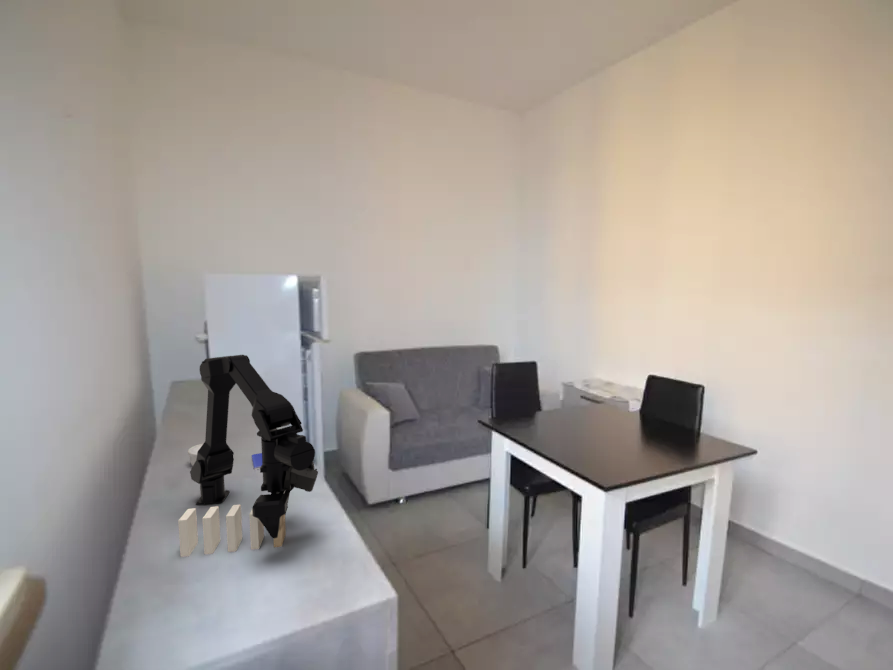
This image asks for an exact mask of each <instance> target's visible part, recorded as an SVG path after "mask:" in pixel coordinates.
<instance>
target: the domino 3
mask: <svg viewBox="0 0 893 670" xmlns="http://www.w3.org/2000/svg"><path fill="white" fill-rule="evenodd" d="M242 517H243V516H242V504H233V505H232V506H231V507H230V509H229V511H228V512H227V514H226V516H225V521H226V539H227V540H226V541H227V553H235V552H237V550H238V549H239V546H240V545H241V542H242V541H243V523H242V520H243V518H242Z"/></svg>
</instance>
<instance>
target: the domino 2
mask: <svg viewBox="0 0 893 670" xmlns="http://www.w3.org/2000/svg"><path fill="white" fill-rule="evenodd" d="M220 523H221V522H220V508H219V505H216V506H210V507H209V509H208V510H207V511H206V513H205V515H204V516H203V517H202V532H203V533H202V534H203V549H204V551H203V552H204V555H206V556H207V555H213V554H214V553H215V551H216V550H217V547H218V546H219V544H220V542H221V541H222V540H221V526H220V525H221V524H220Z"/></svg>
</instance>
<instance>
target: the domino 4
mask: <svg viewBox="0 0 893 670" xmlns="http://www.w3.org/2000/svg"><path fill="white" fill-rule="evenodd" d="M248 516H249V517H248V518H249V533H250V534H249V535H250V550H251V551H253V550H254V551H255V550H259V549H260V547H261V545H262V543H263V540H264V538H265V527H264V525H263V524H262V523H261V521H260V520H259V519H258V518H256V517H254V516H253V512H252V509H251V510H250V513H249V515H248Z"/></svg>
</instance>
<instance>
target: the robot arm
mask: <svg viewBox="0 0 893 670" xmlns="http://www.w3.org/2000/svg"><path fill="white" fill-rule="evenodd" d="M199 374H200V376H201V377H200V380H201V382H202V384H203V385H204V386H205V387H206V389H207V403H206V405H207V406H206V421H205V422H206V423H205V438H204V440H205V441H204V444H203V443H202V444H203V445H202V446H201V448H200V449H199V450H198V452H197V459H196V462H195V463H194V465H193V466H192V467H191V469H190V470H189V474H190V479H191V481H193V482H195V483H197V484H198V485H199V488H200V490H199V492H200V497H199V498H198V500H197V501H196V502H195V505H197V506H200V505H210V504H211V505H213V504H221V503H224V501H225V499H226V498H227V497H228V495H229V494H230V490H225V489H226V487H225V476H226V475H231V474H233V466H234V455H235V454H234V450H232V449H231V447H230V446H229V445H228V443H227V437H228V436H227V433H228V421H229V405H230V395H231V394H230V393H231V391H232V389H233V388H234V387H235V385H237V386H238V388H239V389H240V390H241V392H242V394H243V395H244V396H245V398H246V399H247V400H248V402H249V403H250V405H251V407H252V410H251V418H252V419H253V422H254V424H255V427H256V429H258V432H257V433H256V435H257V436H258V437H260V439H261V442H260V443H261V453H262V466H261V467H260V470H259V471H260V472H259V473H262V483H261V486H260V491H261V492H267V493H269V494H267V493H266V494H260V495H259V496H258V498H256V500H255V501H254V503H253V505H252V507H251V510H252V512H253V516H254V517H256V518H258V519H259V520H260V521H261V523H262V524H263V525H264V529H265V530H266V532H268V534H269V536H270V537H271V539H273V538H277V537H278V532H279V525H280V518H281V516H282V515H284V514H285V516H286V514H287V510H288V508H289V506H288V504H289V499H290V494H291V491H292V490H293V489H294V488H296V489H299V490H304V491H305V492H307V493H308V492H309V493H310V492H313V489H314V487H315V484H316V481H317V478H318V474H319V471H318V468H315V462H314V459H315V456H316V450H315V448H314V445H313V444H312V443H311V442H308V441H307V436H306V435H303V434H299V433H304V432H303V431H304V429H303V426H302V423H303V422H302V421H301V419H300V417H299V416H298V414H297V412H296V410H295V407H294V405H292V403H291V401H289V400H288V399H287V398H286V397H285V396H284V395H282V394H280V393H277V392H275V391H273V390H272V389H271V388H270V387H269V385H268V384H267V383H266V381H264V379H263V378H262V376H260V374H259V373H258V371H257V370H256V369H255V367H254V366H253V365H252V364H251V360H250V358H249V356H248V355H245V354H235V355H226V356H214V357H209V358H208V357H207V358H205V359H204V360H202V361H201V363H200V365H199ZM286 426H287V427H286Z"/></svg>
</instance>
